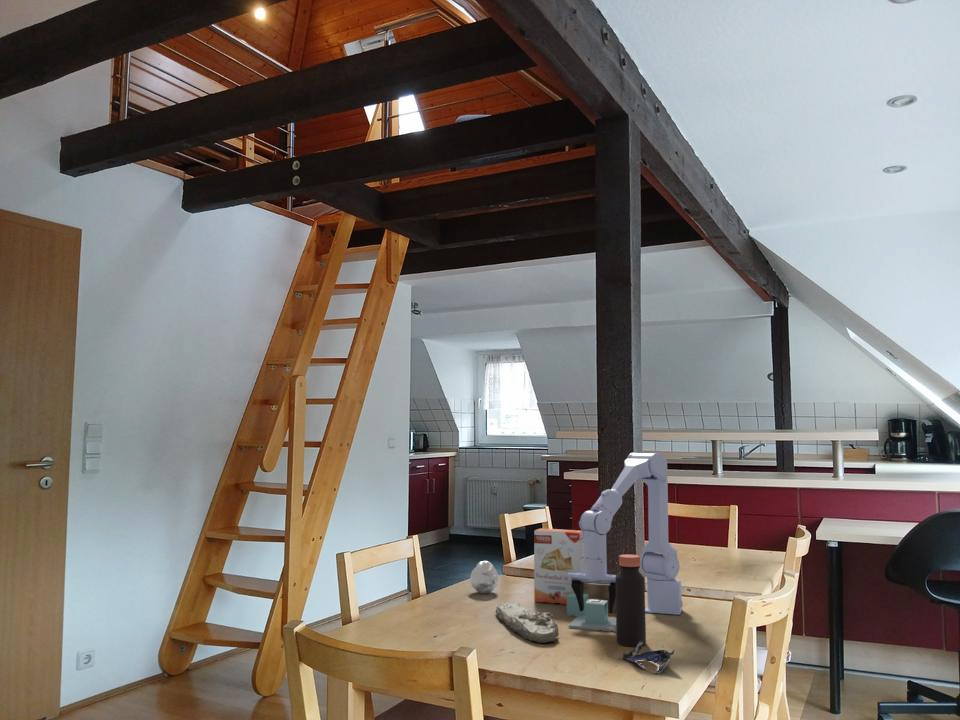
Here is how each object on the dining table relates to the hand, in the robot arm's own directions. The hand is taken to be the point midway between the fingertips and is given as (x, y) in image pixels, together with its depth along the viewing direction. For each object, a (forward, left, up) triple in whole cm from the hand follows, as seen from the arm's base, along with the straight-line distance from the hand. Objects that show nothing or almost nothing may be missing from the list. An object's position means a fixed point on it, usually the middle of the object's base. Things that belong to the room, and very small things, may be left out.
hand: (596, 611), depth 192 cm
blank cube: (+7, -10, -3) cm, 13 cm away
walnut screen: (+1, -16, -3) cm, 17 cm away
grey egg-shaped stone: (+40, -27, -3) cm, 48 cm away
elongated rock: (+17, +8, -4) cm, 19 cm away
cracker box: (+15, -22, -3) cm, 27 cm away
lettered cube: (0, 0, -3) cm, 3 cm away
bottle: (-11, +15, -3) cm, 19 cm away
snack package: (-17, +30, -4) cm, 35 cm away
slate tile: (0, 0, -3) cm, 3 cm away
